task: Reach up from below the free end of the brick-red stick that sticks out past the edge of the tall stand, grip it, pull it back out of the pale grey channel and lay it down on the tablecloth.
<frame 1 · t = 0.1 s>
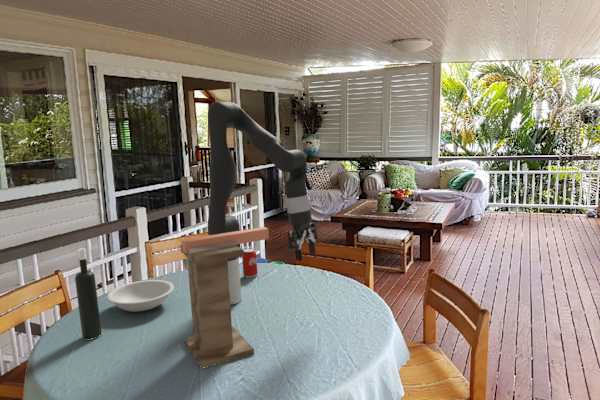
hand: (306, 257, 154), 22 cm above the table, tool pointing down, fingers open, 8 cm apart
beverage can: (250, 276, 205), on the table
stand: (218, 348, 140), on the table
soup bowl: (142, 307, 175), on the table
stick: (227, 244, 137), point 32 cm above the table, touching stand
wine bottle: (92, 336, 152), on the table
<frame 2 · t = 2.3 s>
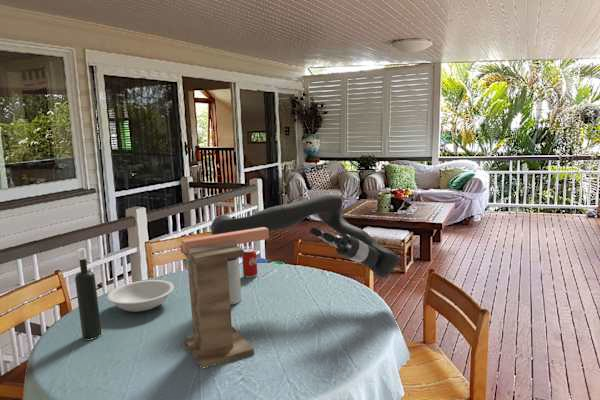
hand: (317, 232, 152), 31 cm above the table, tool pointing upward, fingers open, 8 cm apart
nothing on the table moved.
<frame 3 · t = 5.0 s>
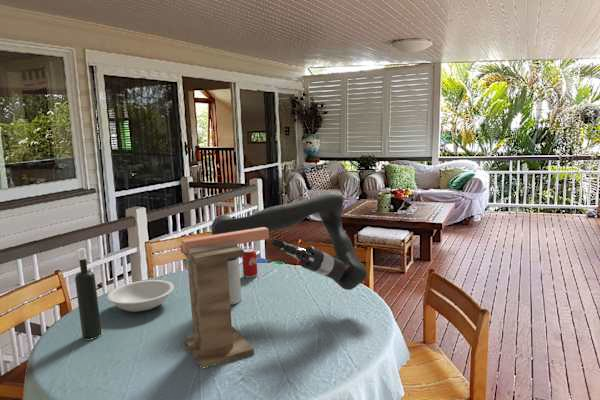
hand: (278, 244, 146), 29 cm above the table, tool pointing upward, fingers open, 8 cm apart
nothing on the table moved.
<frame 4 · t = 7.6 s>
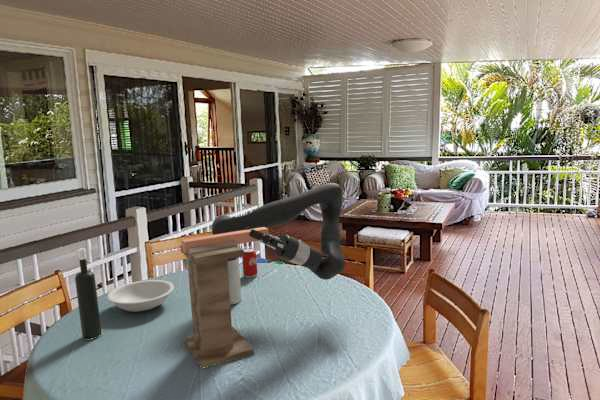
hand: (248, 231, 140), 35 cm above the table, tool pointing upward, fingers closed on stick, 3 cm apart
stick: (227, 244, 137), point 32 cm above the table, touching gripper, stand
everything else where it was.
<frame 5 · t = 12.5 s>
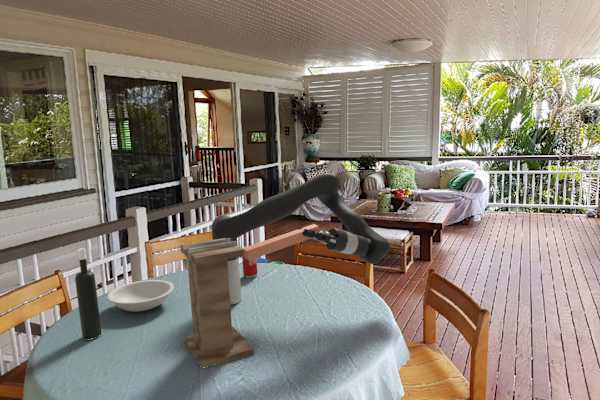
hand: (301, 230, 148), 33 cm above the table, tool pointing upward, fingers closed on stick, 3 cm apart
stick: (283, 246, 146), point 29 cm above the table, tilted 9°, touching gripper
everything else where it was.
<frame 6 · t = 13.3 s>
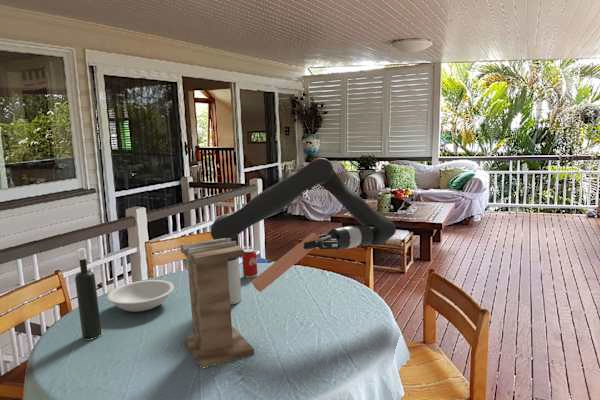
hand: (301, 244, 150), 28 cm above the table, tool horizontal, fingers closed on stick, 3 cm apart
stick: (289, 265, 149), point 22 cm above the table, tilted 28°, touching gripper
everything else where it was.
when the fingers open (13 cm above the table, at t = 17.3 s): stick drops 8 cm, on the table.
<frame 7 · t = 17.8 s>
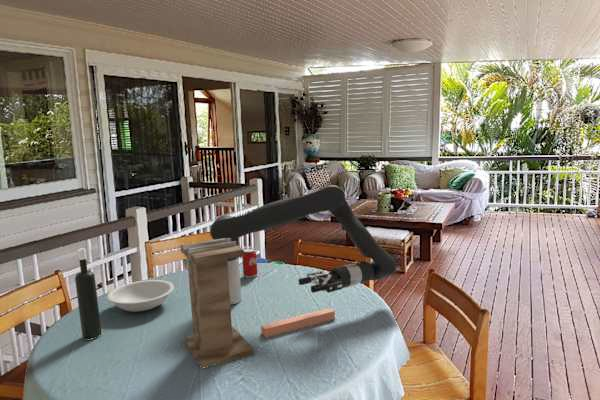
hand: (305, 285, 153), 14 cm above the table, tool horizontal, fingers open, 8 cm apart
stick: (299, 326, 154), on the table
everything else where it was.
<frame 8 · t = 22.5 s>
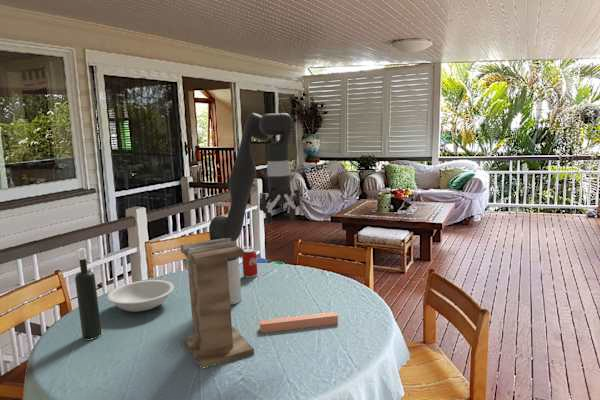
hand: (280, 221, 156), 34 cm above the table, tool pointing down, fingers open, 8 cm apart
at the end: the gripper is holding nothing; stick inside the target area (5.2 cm from its centre), on the table; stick touching table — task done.
